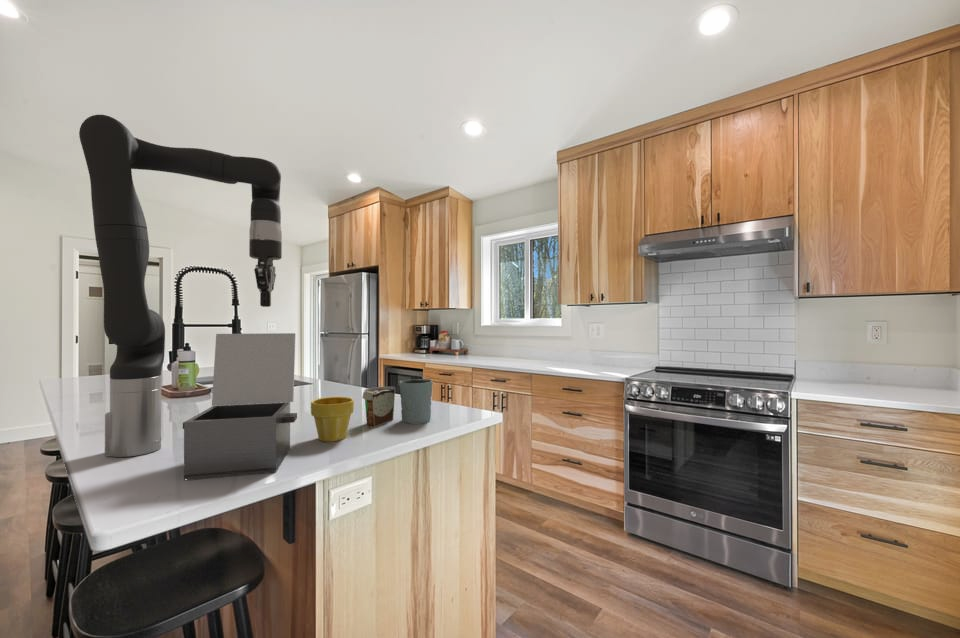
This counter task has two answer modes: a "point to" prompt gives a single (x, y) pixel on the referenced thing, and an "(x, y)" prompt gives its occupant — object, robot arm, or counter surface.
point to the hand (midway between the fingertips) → (265, 306)
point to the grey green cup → (416, 400)
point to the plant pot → (332, 417)
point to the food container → (379, 405)
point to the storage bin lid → (253, 368)
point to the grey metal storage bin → (237, 440)
